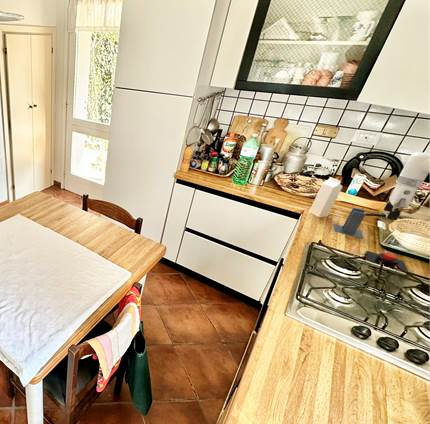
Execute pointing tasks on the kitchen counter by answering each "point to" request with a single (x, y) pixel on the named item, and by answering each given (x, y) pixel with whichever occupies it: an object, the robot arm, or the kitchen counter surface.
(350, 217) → the bracket
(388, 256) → the button
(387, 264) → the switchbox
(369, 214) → the lever
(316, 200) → the milk
